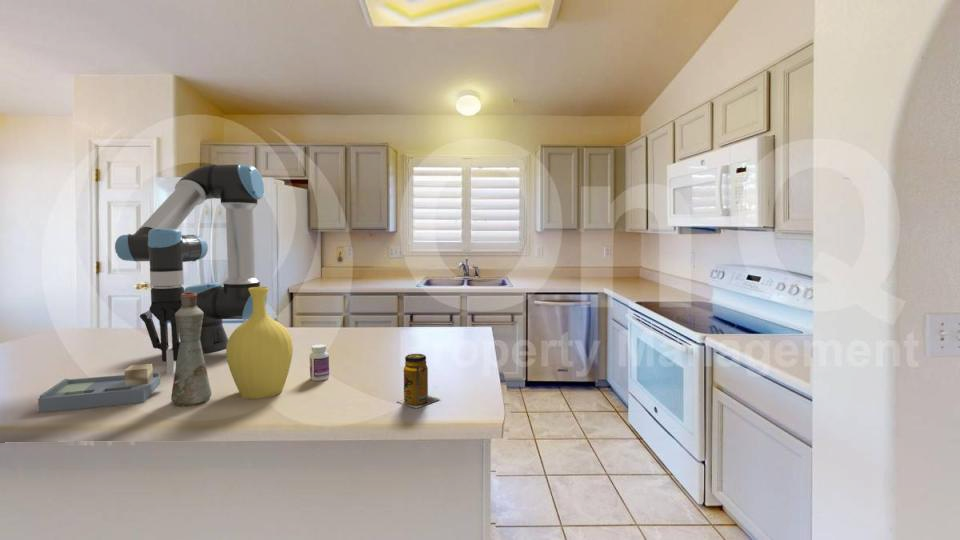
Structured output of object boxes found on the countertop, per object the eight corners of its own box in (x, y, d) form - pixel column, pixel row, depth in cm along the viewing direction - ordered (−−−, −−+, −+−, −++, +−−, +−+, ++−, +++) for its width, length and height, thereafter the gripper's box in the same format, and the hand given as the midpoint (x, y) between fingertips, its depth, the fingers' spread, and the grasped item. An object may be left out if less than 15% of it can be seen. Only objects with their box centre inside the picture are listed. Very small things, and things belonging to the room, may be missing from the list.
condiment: (396, 402, 125) (396, 356, 124) (421, 393, 131) (421, 349, 130) (416, 409, 120) (416, 361, 119) (440, 400, 127) (440, 354, 126)
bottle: (183, 410, 118) (178, 294, 115) (164, 403, 123) (158, 291, 120) (219, 399, 125) (214, 290, 122) (199, 393, 130) (194, 288, 127)
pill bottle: (333, 376, 145) (332, 344, 144) (321, 382, 140) (321, 348, 139) (317, 374, 147) (317, 342, 146) (306, 380, 142) (305, 347, 141)
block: (153, 377, 134) (152, 363, 134) (147, 383, 130) (147, 368, 129) (131, 379, 133) (130, 365, 132) (125, 385, 128) (124, 370, 128)
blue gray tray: (159, 383, 137) (159, 370, 136) (144, 402, 123) (143, 387, 122) (66, 392, 129) (65, 378, 129) (39, 412, 115) (37, 397, 115)
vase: (279, 378, 143) (276, 282, 140) (304, 392, 131) (301, 288, 129) (219, 391, 131) (215, 287, 129) (240, 407, 120) (236, 294, 117)
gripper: (197, 284, 137) (201, 366, 139) (142, 285, 133) (147, 371, 135) (192, 287, 130) (196, 374, 132) (134, 289, 126) (139, 379, 128)
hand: (171, 372), depth 134 cm, fingers closed
